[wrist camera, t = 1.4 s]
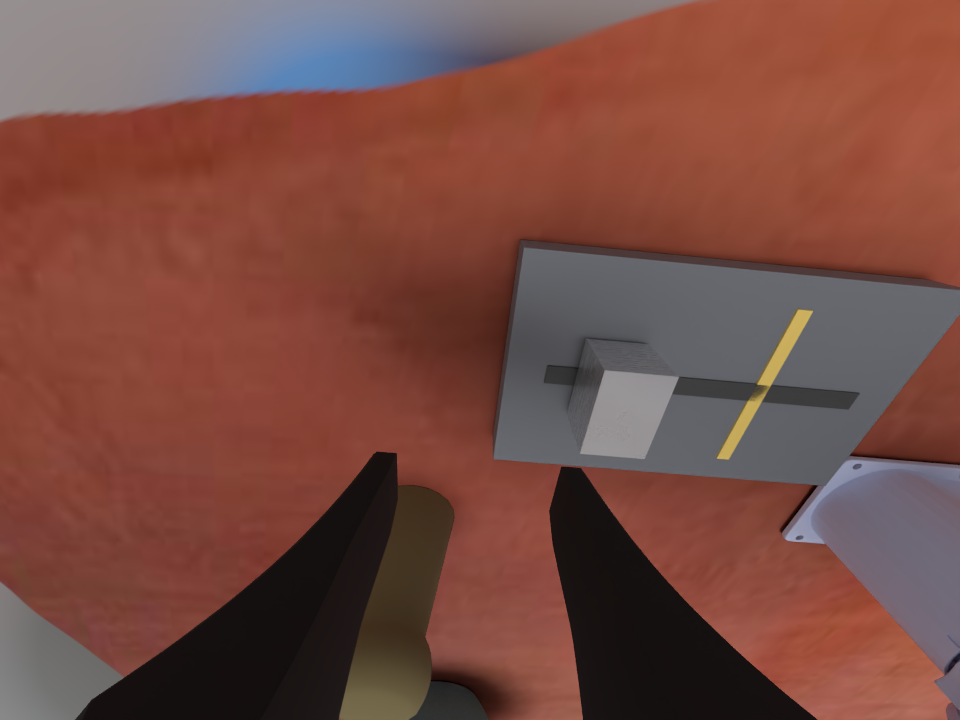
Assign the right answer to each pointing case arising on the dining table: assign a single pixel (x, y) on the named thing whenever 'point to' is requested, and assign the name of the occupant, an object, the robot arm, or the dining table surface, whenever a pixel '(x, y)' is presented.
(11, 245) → the dining table surface
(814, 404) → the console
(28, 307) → the dining table surface
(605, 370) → the fader
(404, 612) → the cork
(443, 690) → the teal bowl
